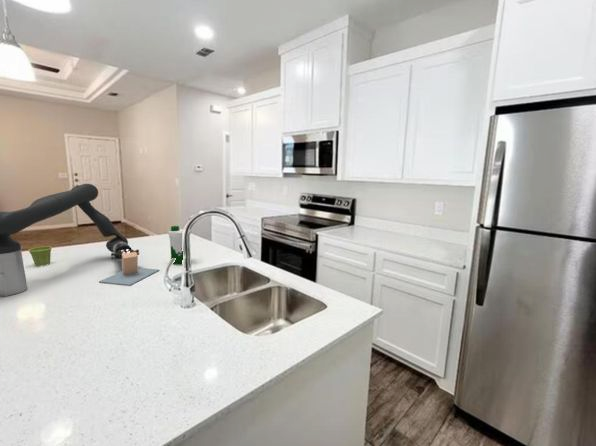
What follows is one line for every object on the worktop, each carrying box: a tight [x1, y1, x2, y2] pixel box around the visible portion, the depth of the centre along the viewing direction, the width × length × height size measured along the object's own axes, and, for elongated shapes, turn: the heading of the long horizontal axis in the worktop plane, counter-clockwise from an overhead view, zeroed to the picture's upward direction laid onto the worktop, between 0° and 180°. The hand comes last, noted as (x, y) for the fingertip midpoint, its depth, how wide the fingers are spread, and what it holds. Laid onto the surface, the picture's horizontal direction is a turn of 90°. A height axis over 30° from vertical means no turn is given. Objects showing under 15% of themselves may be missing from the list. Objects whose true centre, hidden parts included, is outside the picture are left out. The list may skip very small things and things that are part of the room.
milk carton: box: [167, 225, 184, 266], centre depth 161 cm, size 9×9×20 cm
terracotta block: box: [121, 252, 139, 275], centre depth 142 cm, size 4×6×10 cm, turn 130°
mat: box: [98, 267, 160, 287], centre depth 142 cm, size 20×16×1 cm
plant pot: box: [28, 245, 53, 267], centre depth 155 cm, size 9×9×9 cm
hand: (128, 258), depth 143 cm, fingers closed
